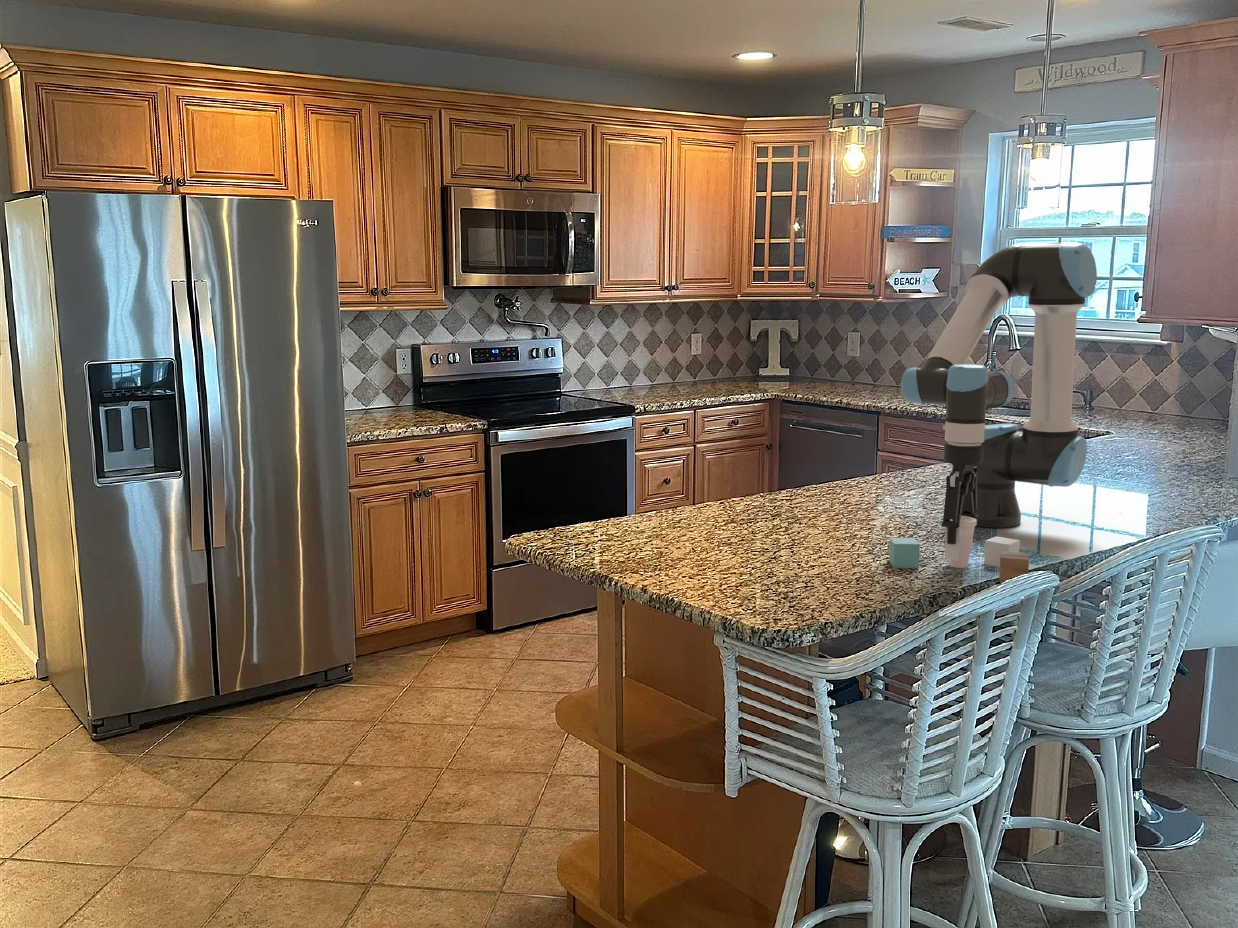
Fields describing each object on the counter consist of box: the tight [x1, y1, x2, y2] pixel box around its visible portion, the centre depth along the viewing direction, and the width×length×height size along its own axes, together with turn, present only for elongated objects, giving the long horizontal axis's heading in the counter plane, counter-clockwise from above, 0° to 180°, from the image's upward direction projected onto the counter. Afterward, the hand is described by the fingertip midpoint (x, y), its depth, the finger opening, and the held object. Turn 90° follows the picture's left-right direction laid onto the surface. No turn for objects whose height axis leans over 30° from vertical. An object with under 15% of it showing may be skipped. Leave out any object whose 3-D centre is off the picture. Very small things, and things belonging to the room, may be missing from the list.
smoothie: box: [944, 516, 977, 569], centre depth 215 cm, size 6×6×14 cm
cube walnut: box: [998, 551, 1030, 584], centre depth 205 cm, size 5×5×5 cm
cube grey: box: [983, 536, 1021, 568], centre depth 217 cm, size 5×5×5 cm
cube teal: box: [888, 537, 921, 569], centre depth 217 cm, size 5×5×5 cm
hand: (958, 554), depth 216 cm, fingers open, 8 cm apart
